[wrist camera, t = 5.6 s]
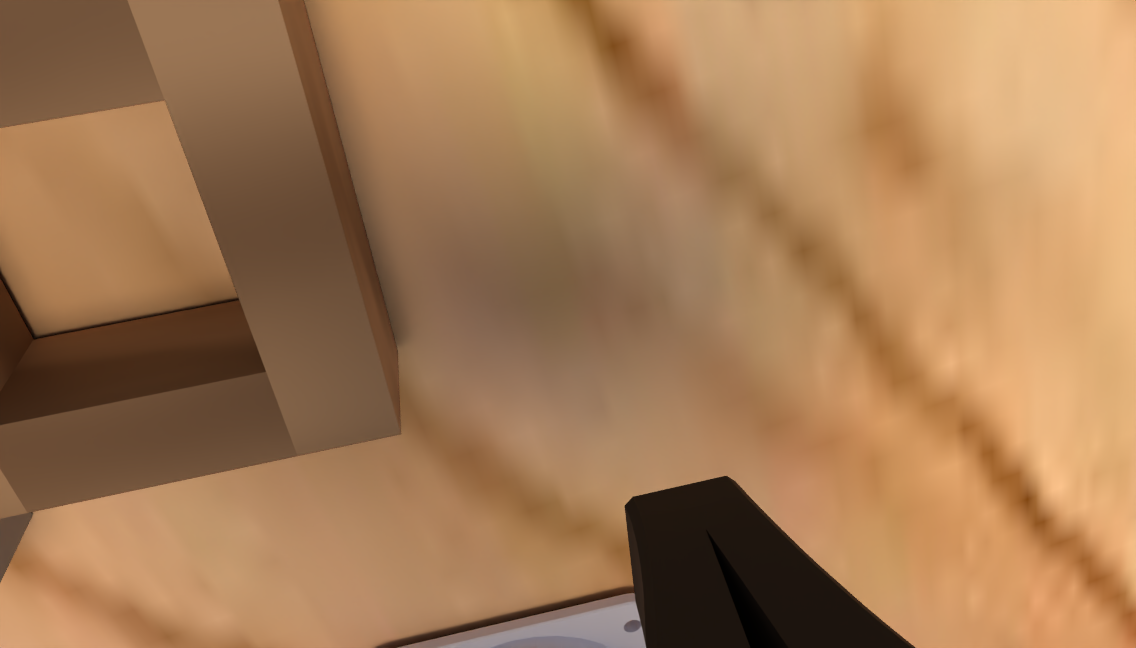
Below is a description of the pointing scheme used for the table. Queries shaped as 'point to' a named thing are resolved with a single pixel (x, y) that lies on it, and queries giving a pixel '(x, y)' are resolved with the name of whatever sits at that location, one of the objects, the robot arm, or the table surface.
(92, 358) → the brown square frame
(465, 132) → the table surface
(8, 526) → the wall
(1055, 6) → the table surface
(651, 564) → the robot arm
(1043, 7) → the table surface
